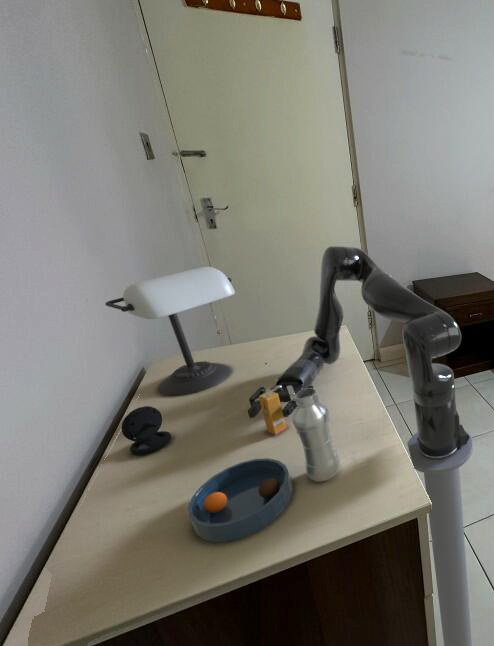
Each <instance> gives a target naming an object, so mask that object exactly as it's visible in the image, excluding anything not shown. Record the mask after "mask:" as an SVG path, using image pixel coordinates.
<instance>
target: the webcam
mask: <svg viewBox="0 0 494 646" xmlns="http://www.w3.org/2000/svg"><path fill="white" fill-rule="evenodd" d="M162 424H163V414H162V413H161V411H160V410H159V409H158V408H156V407H154V406H151V405H149V406H148V405H145V406H139V407H137V408H135V409H133V410H132V411H130V412H129V413H128V414H127V415H126V416H125V417H124V419H123V420H122V423H121V426H120V427H121V429H120V430H121V434H122V435H123V437H124V438H125V439H127V440H129V441H132V442H133V443H132V444H131V446H130V448H129V450H130V453H131V454H132V455H135V456H146V455H149V454H153V453H155V452H157V451H159V450H161V449H163V448H164V447H166V446H167V445H168V444H170V442H171V440H172V434H171V433H170V432H169V431H166V430H165V431H164V430H160V428H161V426H162ZM142 445H147V446H148V447H145V448H140V447H141V446H142Z"/></svg>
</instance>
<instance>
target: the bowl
mask: <svg viewBox="0 0 494 646" xmlns="http://www.w3.org/2000/svg"><path fill="white" fill-rule="evenodd" d="M270 478H272V479H276V480H277V481H278V482H279V484H280V489H279V492H278V493H277V494H276V495H275V496H274V497H272V498H268V499H266V498H263V497H261V496H260V494H259V486H260V484H261V483H262V482H263V481H265V480H266V479H270ZM215 492H221V493H224V494H225V495H226V497H227V504H226V506H225V507H224V508H223V509H222V510H221V511H219V512H217V513H209V512H207V511H206V510H205V509H204V501H205V499H206V498H207V497H208V496H209V495H210V494H212V493H215ZM292 495H293V483H292V479H291V475H290V472H289V470H288V467H287V466H286V464H284V463H283V462H281V461H280V460H277V459H273V458H270V457H269V458H267V457H266V458H265V457H264V458H253V459H249V460H245V461H241V462H238V463H236V464H235V465H231V466H229V467H226V468H225V469H223V470H222V471H219V472H218V473H217V474H214V475H213V476H211V477H210V478H209V479H208V480H207V481H205V482H204V483H203V484H202V485H201V486H200V487H199V488H198V489H197V490H196V492H195V493H194V494H193V495H192V497H191V499H190V502H189V504H188V506H187V512H188V518H189V521H190V523H191V525H192V527H193V529H194V532H195V533H196V534H197V535H198V536H199V538H200V539H202V540H204V541H207V542H210V543H218V544H219V543H228V542H234V541H238V540H240V539H244V538H246V537H249V536H251V535H253V534H256V533H257V532H259V531H261V530H262V529H264V528H266V527H267V526H268V525H270V524H271V523H272V522H273V521H274V520H276V519H277V518H278V517H279V516H280V515H281V514H282V512H284V510H285V509H286V508H287V507H288V505H289V503H290V501H291V498H292Z"/></svg>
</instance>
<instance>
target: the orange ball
mask: <svg viewBox="0 0 494 646" xmlns="http://www.w3.org/2000/svg"><path fill="white" fill-rule="evenodd" d="M226 504H227V497H226V495H225V494H224V493H221V492H215V493H212V494H210V495H209V496H208V497H207V498H206V499H205V501H204V509H205V510H206V511H207V512H209V513H217V512H219V511H221V510H222V509H223V508H224V507H225V506H226Z"/></svg>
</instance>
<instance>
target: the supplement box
mask: <svg viewBox="0 0 494 646" xmlns="http://www.w3.org/2000/svg"><path fill="white" fill-rule="evenodd" d="M259 400H260V404H261V407H262V409H261V411H262V416H263V420H264V424H265V427H266V431H267V432H268V433H270V434H273V435H274V436H275V435H278V434H281V432H283V431H284V430H286V429H287V424H286V420H285V417H284V416H283V413H282V410H283V408H282V405H281V402H280V400H279V396H278V393H275V392H272V391H268V392H266V393H264V394H262V395H260V396H259Z"/></svg>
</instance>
